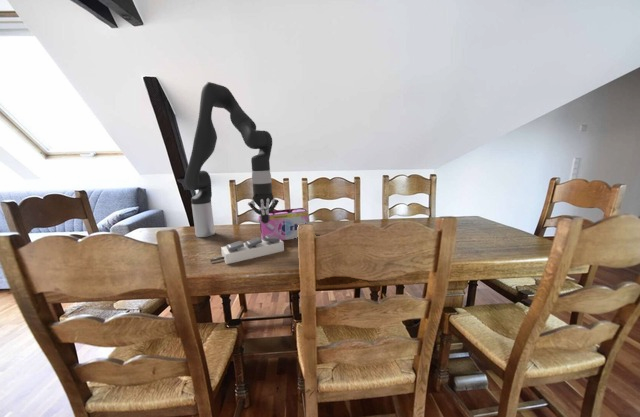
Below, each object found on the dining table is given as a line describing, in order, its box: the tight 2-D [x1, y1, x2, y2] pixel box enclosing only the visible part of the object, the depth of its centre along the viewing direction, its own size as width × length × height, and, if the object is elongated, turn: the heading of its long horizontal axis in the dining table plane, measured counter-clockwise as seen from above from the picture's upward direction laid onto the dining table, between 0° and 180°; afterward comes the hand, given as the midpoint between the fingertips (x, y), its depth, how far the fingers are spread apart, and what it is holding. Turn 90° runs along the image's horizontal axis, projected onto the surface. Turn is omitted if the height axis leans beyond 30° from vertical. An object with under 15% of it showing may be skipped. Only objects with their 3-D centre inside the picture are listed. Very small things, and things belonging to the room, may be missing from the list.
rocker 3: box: [263, 236, 280, 242], centre depth 109 cm, size 5×6×1 cm
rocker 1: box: [225, 240, 244, 252], centre depth 101 cm, size 5×6×1 cm
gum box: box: [257, 207, 309, 241], centre depth 125 cm, size 24×8×14 cm, turn 111°
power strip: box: [209, 238, 285, 265], centre depth 106 cm, size 9×29×5 cm, turn 121°
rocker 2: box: [244, 236, 262, 248], centre depth 105 cm, size 5×6×1 cm
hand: (265, 223), depth 106 cm, fingers closed
